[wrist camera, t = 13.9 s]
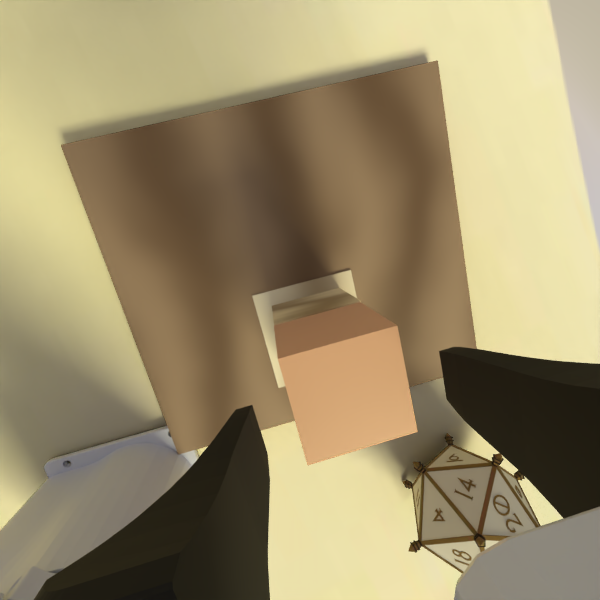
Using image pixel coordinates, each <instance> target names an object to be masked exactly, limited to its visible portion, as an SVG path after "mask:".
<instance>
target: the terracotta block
mask: <svg viewBox="0 0 600 600" xmlns="http://www.w3.org/2000/svg"><path fill="white" fill-rule="evenodd" d="M274 331H275V340H276V349H277V357H278V362H279V365H280V369H281V372H282V376H283V380H284V383H285V387H286V390H287V394H288V397H289V401H290V404H291V408H292V411H293V415H294V419H295V422H296V426H297V429H298V433H299V436H300V440H301V443H302V447H303V450H304V454H305V457H306V461H307V465H311V464H314V463H317V462H320V461H324V460H327V459H330V458H334V457H337V456H340V455H343V454H347V453H350V452H353V451H357V450H360V449H363V448H366V447H370V446H373V445H376V444H380V443H383V442H386V441H389V440H393V439H396V438H399V437H403V436H406V435H409V434H413V433H416V432H418V431H417V426H416V420H415V415H414V410H413V405H412V399H411V394H410V389H409V384H408V378H407V373H406V368H405V363H404V357H403V352H402V347H401V342H400V336H399V331H398V326H397V325H396V324H394V323H393V322H391V321H390V320H388V319H386V318H385V317H383V316H382V315H380V314H378V313H377V312H375V311H374V310H372V309H370V308H369V307H367V306H366V305H364V304H363V303H361V302H358V303H355V304H351V305H347V306H344V307H340V308H336V309H333V310H329V311H325V312H322V313H318V314H314V315H311V316H307V317H303V318H300V319H296V320H292V321H289V322H285V323H281V324H278V325H274Z"/></svg>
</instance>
